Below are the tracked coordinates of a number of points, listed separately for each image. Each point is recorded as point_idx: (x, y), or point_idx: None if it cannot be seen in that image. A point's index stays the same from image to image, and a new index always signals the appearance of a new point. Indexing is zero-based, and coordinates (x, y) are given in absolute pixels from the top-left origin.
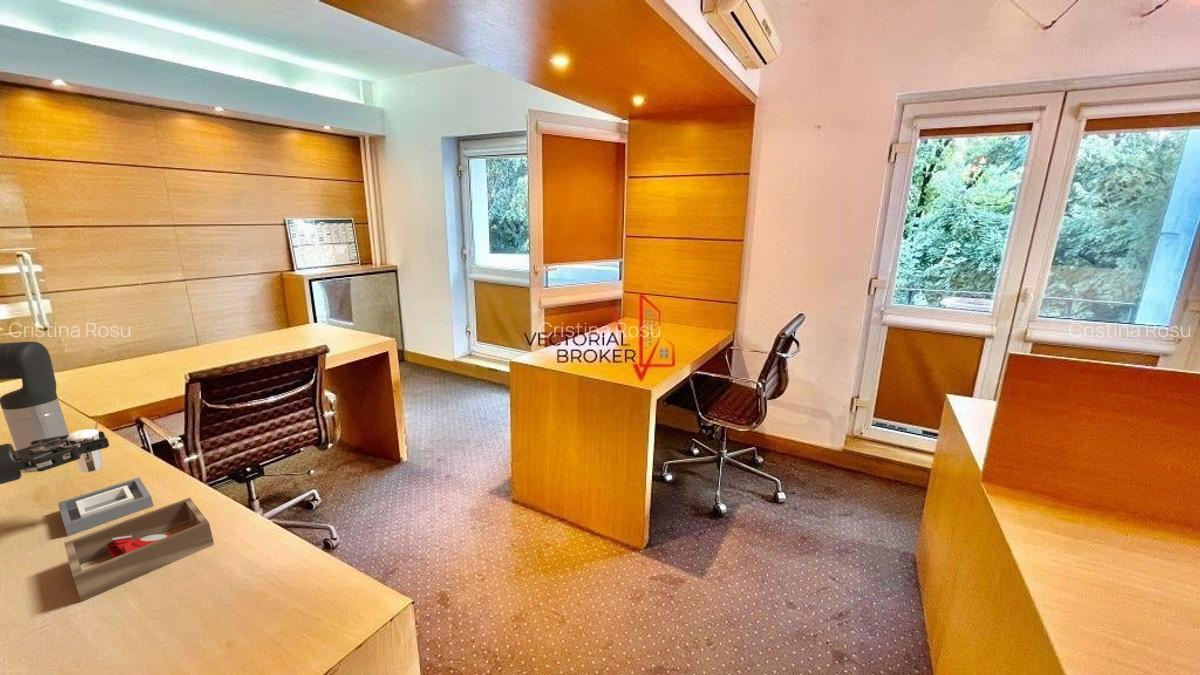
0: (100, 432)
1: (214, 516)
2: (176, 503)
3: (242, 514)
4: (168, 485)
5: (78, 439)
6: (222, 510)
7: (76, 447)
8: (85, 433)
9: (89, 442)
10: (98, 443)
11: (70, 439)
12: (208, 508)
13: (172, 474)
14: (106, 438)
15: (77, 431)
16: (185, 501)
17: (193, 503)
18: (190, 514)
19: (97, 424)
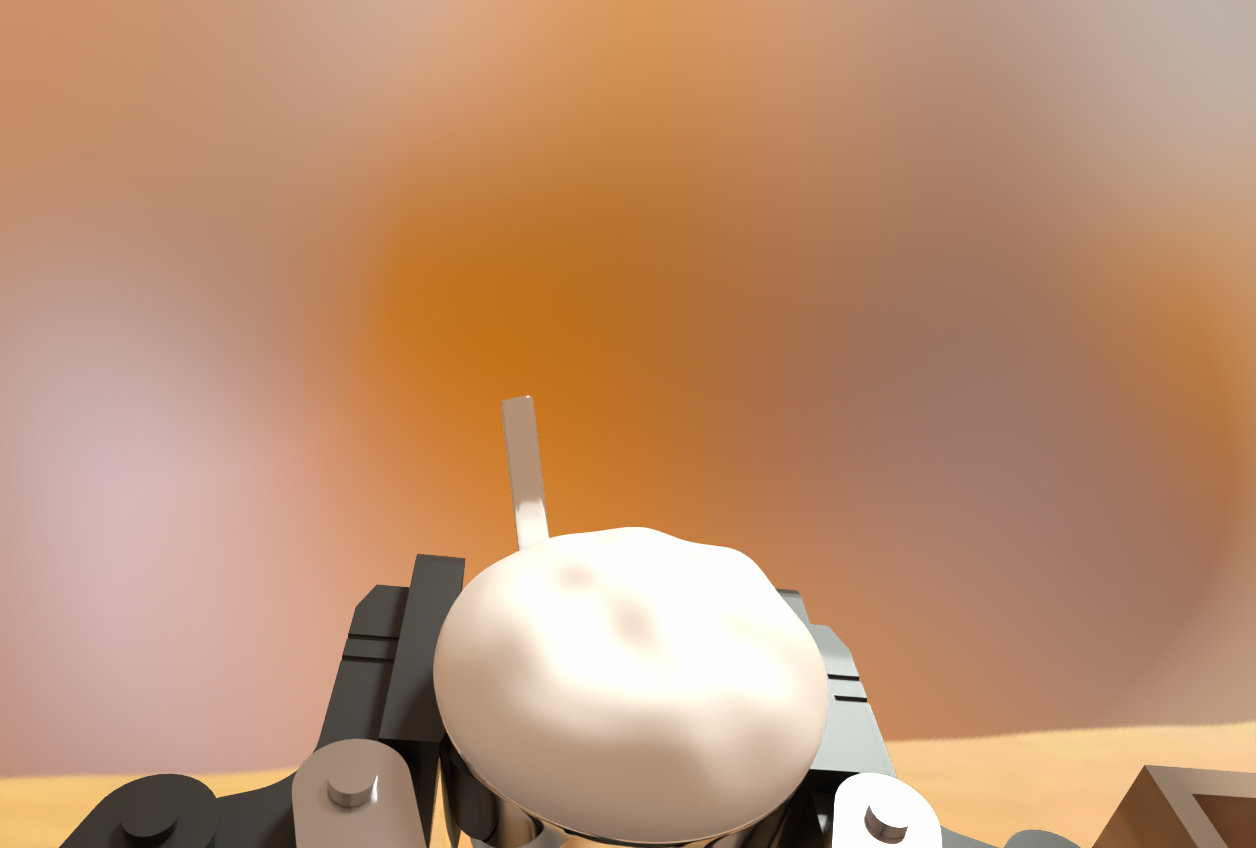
0: (461, 569)
1: (1114, 803)
2: (1201, 829)
3: (1156, 727)
4: (443, 842)
5: (822, 732)
6: (1061, 762)
7: (1032, 839)
8: (779, 605)
9: (836, 710)
10: (854, 677)
11: (765, 796)
12: (995, 794)
13: (259, 780)
14: (789, 590)
15: (575, 635)
16: (1193, 792)
17: (1244, 774)
18: (1235, 841)
19: (535, 450)
